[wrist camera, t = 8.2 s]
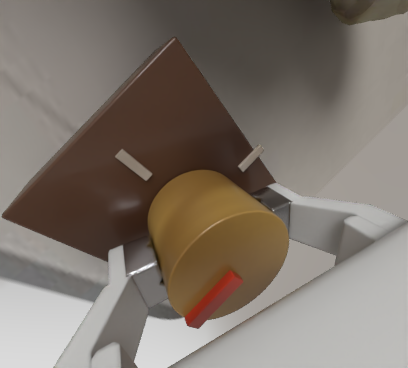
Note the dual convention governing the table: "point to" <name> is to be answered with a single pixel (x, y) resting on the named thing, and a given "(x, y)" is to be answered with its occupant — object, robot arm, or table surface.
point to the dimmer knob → (214, 245)
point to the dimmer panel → (136, 157)
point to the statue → (367, 10)
